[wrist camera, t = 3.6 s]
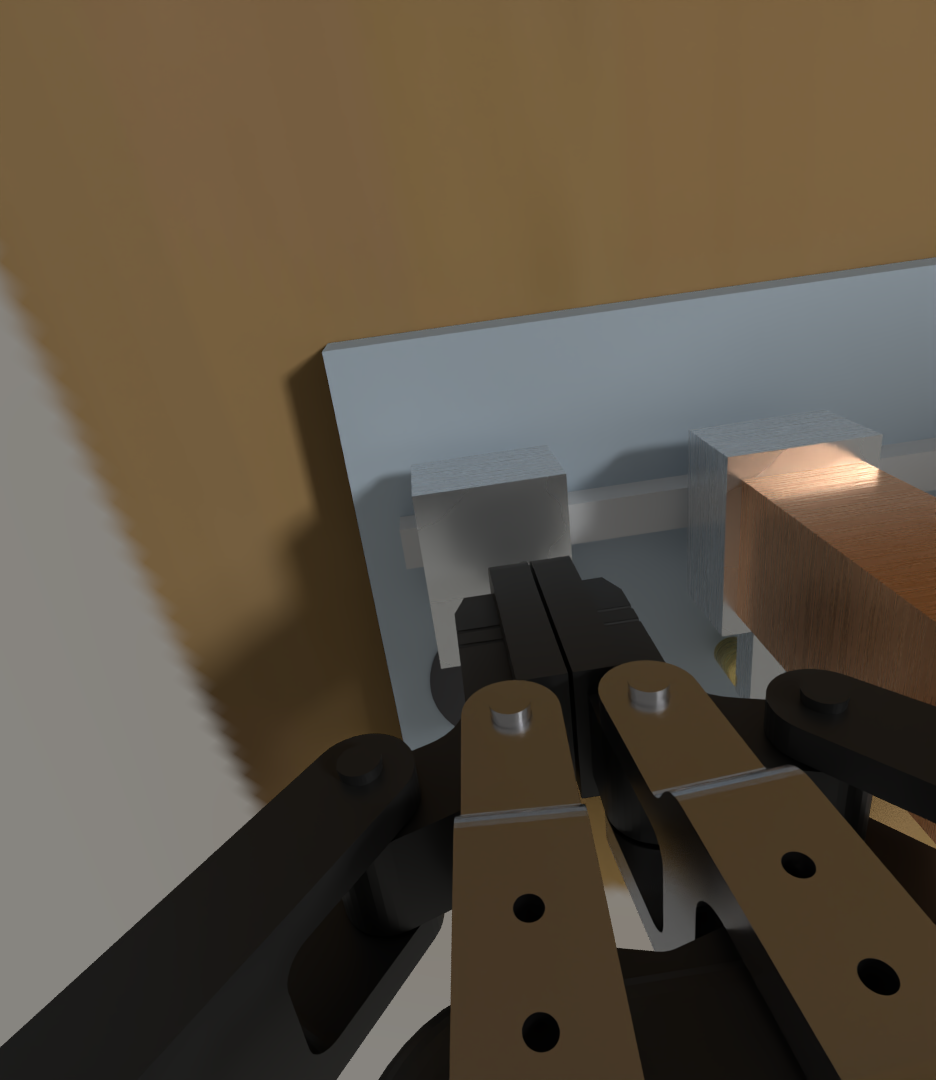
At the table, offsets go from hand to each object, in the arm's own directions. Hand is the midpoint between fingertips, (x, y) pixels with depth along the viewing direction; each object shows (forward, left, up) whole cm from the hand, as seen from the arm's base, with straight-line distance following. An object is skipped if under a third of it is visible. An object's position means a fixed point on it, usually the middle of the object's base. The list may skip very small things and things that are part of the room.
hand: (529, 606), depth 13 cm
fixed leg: (0, +1, -4) cm, 4 cm away
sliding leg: (-6, +2, -4) cm, 7 cm away
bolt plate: (-7, +2, -5) cm, 9 cm away
